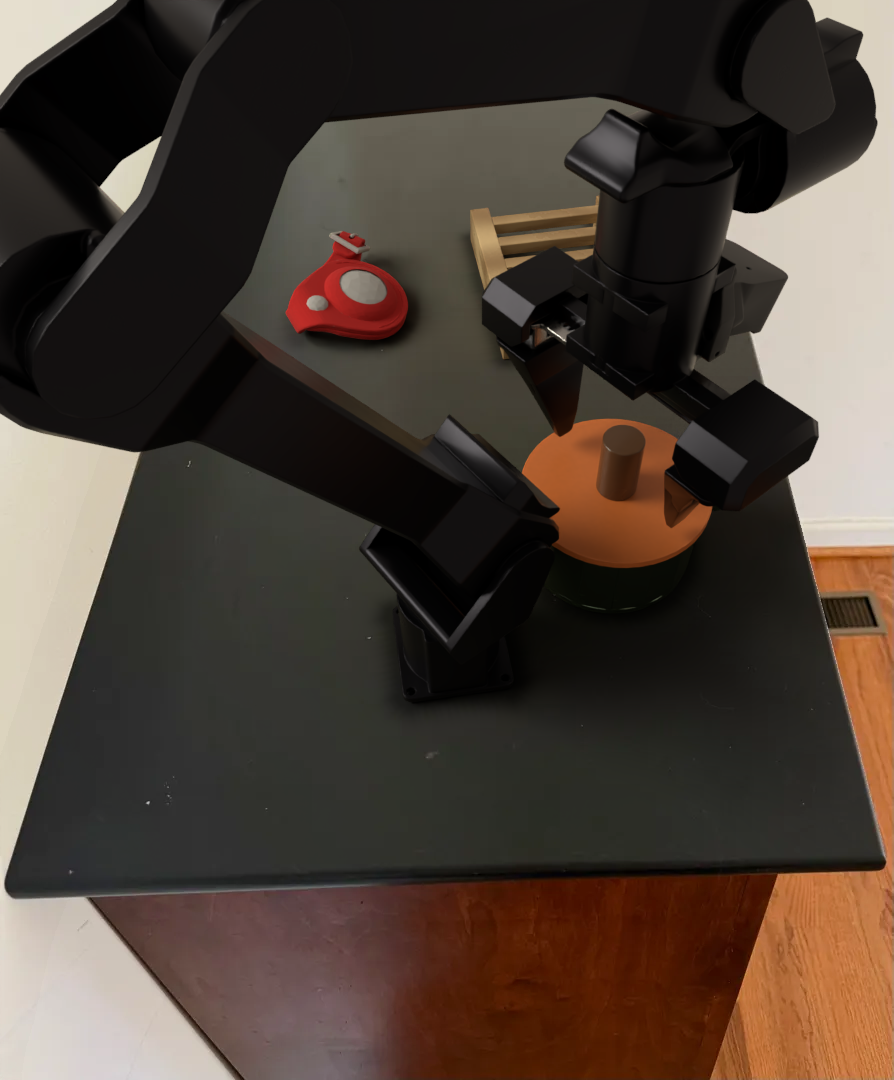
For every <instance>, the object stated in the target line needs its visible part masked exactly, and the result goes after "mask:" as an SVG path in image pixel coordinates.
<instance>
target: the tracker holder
mask: <svg viewBox="0 0 894 1080" xmlns="http://www.w3.org/2000/svg"><path fill="white" fill-rule="evenodd" d="M328 237H329V238H330V239H332V240H333V241H334V242H333V243H332V251H333V252H332V253H331V255H330V256H329V257H328V258H327V260H326V261H325V263H324V264H323V265H322V266H320V267H318V268H317V269H316V270H315V271H312V273H310V275H308V276H307V277H306V278H305V279H303V280H302V281H301V282H300V283H299V284H298V285H297V286H296V288H295V289H294V290H293V293H292V295H291V297H290V300H289V301H288V306H287V309H286V310H285V315H286V317H287V318H288V320H289V322H290V324H291V326H292V327H293V329H294V330H295V332H296V333H297V334H298V335H300V334H303V333H304V332H305V331H308V332H321V333H322V332H323V333H329V334H333V335H336V336H339V337H345V338H350V339H358V340H367V341H368V340H369V341H371V340H372V341H377V340H383V339H388V338H389V337H392V336H393V335H395V334H396V333H398V332H399V330H401V328H402V327H403V325H404V324H405V322H406V318H407V314H408V311H409V301H408V297H407V294H406V292H405V290H404V288H403V286H401V284H400V283H399V282H398V280H397V279H395V278H394V277H393V276H392V275H391V274H390V273H389V272H387V271H385V270H384V269H382V268H380V267H378V266H376V265H374V264H372V263H368V262H365V261H362V255H363V253H366V252H367V253H368V252H369V251H370V250H371V247H370V245H367V244H366V239H365V238H363V237H361V236H359V234H358V233H357V232H353V233H350V232H348V231H345V230H339V231H335V232H333V231H332V232H331V233H329V236H328Z"/></svg>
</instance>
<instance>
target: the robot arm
mask: <svg viewBox="0 0 894 1080" xmlns="http://www.w3.org/2000/svg"><path fill="white" fill-rule="evenodd" d="M863 39H864V33H863V31H862V30H859V29H857V28H854V27H852V26H850V25H847V24H845V23H842V22H839V21H838V20H836V19H832V18H830V17H825V18H823V19H820V20H817V21H816V16H815V11H814V8H813V7H812V6H811V3H810V1H809V0H115V1H114V2H113V4H110V5H109V6H108V7H107V8H105V9H104V10H102V11H100V12H99V13H98V14H96V15H95V16H94V17H92V18H91V19H89V20H88V21H86V22H85V23H84V24H82V25H81V26H79V27H78V28H77V29H75V30H74V31H73V32H71V33H69V34H68V35H66V36H65V37H64V38H62V39H61V40H59V41H58V42H57V43H55V44H54V45H52V46H51V47H49V48H48V49H47V50H46V51H44V52H43V53H41V54H39V55H38V56H36V58H34V59H33V60H31V61H30V62H28V63H27V64H26V65H24V66H23V67H22V68H21V69H19V71H18V72H17V73H16V74H15V75H14V77H12V79H11V80H10V82H9V83H8V84H7V86H6V87H5V88H4V89H3V90H2V92H1V93H0V415H2V416H3V417H4V418H6V419H8V420H10V421H11V422H12V423H14V424H16V425H17V426H19V427H21V428H23V429H26V430H29V431H33V432H36V433H40V434H43V435H47V436H52V437H57V438H63V439H67V440H71V441H76V442H81V443H86V444H91V445H95V446H100V447H105V448H110V449H115V450H119V451H125V452H129V453H143V452H150V451H153V450H157V449H162V448H165V447H170V446H174V445H178V444H183V443H187V442H190V443H195V444H199V445H202V446H204V447H206V448H209V449H210V450H212V451H215V452H217V453H219V454H222V455H223V456H225V457H228V458H229V459H232V460H235V461H236V462H239V463H241V464H243V465H245V466H248V467H250V468H252V469H254V470H256V471H259V472H261V473H263V474H265V475H267V476H269V477H272V478H274V479H276V480H278V481H280V482H283V483H285V484H287V485H288V486H291V487H293V488H295V489H297V490H299V491H302V492H304V493H306V494H308V495H311V496H313V497H315V498H316V499H319V500H322V501H323V502H326V503H328V504H330V505H331V506H334V507H337V508H339V509H341V510H343V511H345V512H347V513H350V514H352V515H354V516H356V517H358V518H360V519H363V520H365V521H366V522H369V523H371V524H373V526H372V527H371V529H370V530H369V531H368V533H367V535H365V537H364V539H363V540H362V542H361V543H360V545H359V548H358V550H359V552H360V553H361V555H362V556H363V557H364V558H365V559H366V560H367V561H368V562H369V564H371V566H372V567H373V568H374V569H375V570H376V571H377V572H378V574H379V575H380V576H381V577H382V578H383V580H384V581H385V582H386V583H387V584H388V585H389V586H390V587H391V588H392V590H393V591H394V592H395V593H396V603H397V606H395V607H393V609H392V622H393V629H394V630H393V631H394V636H395V646H396V652H397V661H398V667H399V668H398V669H399V676H400V683H401V691H402V697H403V699H404V701H405V702H407V703H416V702H423V701H432V700H438V699H444V698H451V697H457V696H465V695H472V694H479V693H485V692H492V691H493V692H494V691H500V690H507V689H510V688H511V687H512V686H513V684H514V673H513V667H512V664H511V659H510V654H509V653H510V652H509V649H508V645H507V640H506V636H507V635H508V634H509V633H511V632H512V631H514V630H515V629H518V627H520V626H522V625H523V624H524V623H526V622H527V621H528V620H529V619H530V618H531V615H532V613H533V610H534V609H535V606H536V604H537V602H538V599H539V597H540V594H541V592H542V590H543V588H544V583H545V581H546V579H547V577H548V574H549V572H550V570H551V567H552V565H553V562H554V557H555V554H554V551H553V550H552V549H551V546H552V544H553V543H555V542H557V541H558V540H559V534H560V533H559V527H558V526H557V524H556V523H555V521H554V520H553V519H552V518H551V517H552V516H554V515H555V514H557V513H558V512H559V510H560V508H559V507H558V506H557V505H556V504H555V503H554V502H553V501H552V500H551V499H550V498H548V497H547V496H546V495H545V494H544V493H543V492H542V491H541V490H540V489H539V488H537V487H536V486H535V485H534V484H533V483H532V482H531V481H530V480H529V479H528V478H527V477H525V476H524V475H523V474H522V471H521V470H519V469H518V468H517V467H516V466H515V465H513V463H512V462H510V461H509V460H508V459H507V458H506V457H505V456H504V455H502V453H500V451H498V450H497V449H496V448H495V447H494V446H493V445H492V444H491V443H489V442H488V440H486V439H485V438H484V437H483V436H482V435H481V434H480V433H471V432H470V431H469V430H468V429H467V428H465V426H464V425H462V424H461V422H459V421H458V420H457V419H456V418H455V417H454V416H453V415H452V414H451V413H449V414H448V415H447V416H446V418H444V421H443V422H442V423H441V425H440V426H439V428H438V429H437V431H436V432H435V433H433V434H432V433H431V434H430V435H428V436H426V437H423V438H422V439H421V438H418V437H416V436H414V435H412V434H411V433H409V432H408V431H406V430H405V429H404V428H401V427H400V426H398V425H397V424H396V423H394V422H393V421H391V420H389V419H388V418H386V417H385V416H384V415H382V414H380V413H379V412H377V411H376V410H375V409H373V408H371V407H370V406H368V405H367V404H365V403H363V401H360V400H359V399H358V398H356V397H355V396H353V395H351V394H350V393H348V392H347V391H345V390H344V389H342V388H341V387H339V386H338V385H336V384H335V383H334V382H332V381H330V380H329V379H327V378H326V377H324V376H323V375H321V374H319V373H318V372H316V371H315V370H314V369H312V368H310V367H309V366H308V365H306V364H304V363H302V362H301V361H300V360H298V359H297V358H295V357H294V356H292V355H290V354H289V353H287V351H284V350H283V349H281V348H280V347H278V346H277V345H275V344H274V343H273V342H271V341H269V340H268V339H266V338H265V337H263V336H262V335H260V334H258V333H257V332H256V331H255V330H253V329H251V328H250V327H248V326H246V325H245V324H243V323H242V322H240V321H239V320H237V319H236V318H234V317H233V316H232V315H229V314H228V313H226V312H225V311H224V310H225V309H226V308H227V306H228V305H229V304H230V303H232V300H233V299H235V297H236V296H237V294H238V293H239V292H240V291H242V289H243V287H245V284H246V283H247V282H248V280H249V278H250V275H251V274H252V272H253V269H254V266H255V263H256V260H257V258H258V255H259V252H260V250H261V246H262V243H263V241H264V238H265V235H266V233H267V229H268V227H269V223H270V221H271V218H272V215H273V212H274V210H275V208H276V207H275V206H276V204H277V202H278V201H277V200H278V198H279V195H280V192H281V190H282V186H283V183H284V182H285V178H286V175H287V173H288V169H289V167H290V165H291V164H292V163H293V161H294V159H296V157H297V156H298V155H299V154H300V153H301V151H303V150H304V148H305V147H306V146H307V144H308V143H309V142H310V141H311V140H312V139H313V137H314V136H315V135H316V134H317V132H318V131H319V130H320V129H321V128H322V126H324V124H326V123H335V122H336V123H337V122H346V121H356V120H357V121H358V120H368V119H377V118H388V117H399V116H400V117H401V116H409V115H419V114H431V113H439V112H440V113H441V112H450V111H451V112H452V111H459V110H460V111H461V110H473V109H483V108H493V107H503V106H504V107H505V106H514V105H524V104H534V103H544V102H545V103H546V102H555V101H566V100H577V99H586V98H587V99H588V98H596V99H602V100H609V101H614V102H617V103H621V104H624V105H627V106H630V107H634V108H637V109H639V110H637V111H635V112H633V113H630V114H628V115H626V114H625V113H622V112H621V111H619V110H617V109H615V108H609V109H607V110H606V111H605V113H604V115H603V116H602V117H601V119H600V121H599V122H598V123H597V124H596V125H595V127H594V128H592V129H591V130H590V131H588V132H587V133H585V134H584V135H582V136H581V137H579V138H578V139H577V140H576V141H575V143H574V144H573V145H572V146H571V148H570V149H569V150H568V151H567V153H566V154H565V157H564V159H563V165H564V167H565V169H566V170H567V171H569V172H571V173H572V174H574V175H576V176H577V177H578V178H580V179H582V180H584V181H586V182H587V183H589V184H590V185H591V186H593V187H595V188H596V189H598V190H599V194H598V196H599V204H598V213H597V222H596V231H595V240H594V245H593V248H592V249H593V255H591V256H589V257H587V258H585V259H583V260H581V261H579V262H578V261H577V260H575V259H574V258H572V257H571V256H569V255H568V254H566V253H565V252H566V251H563V250H562V249H559V248H557V247H556V246H553V247H551V248H549V249H547V250H544V251H541V252H539V253H537V254H536V256H534V255H533V256H534V257H532V258H530V259H528V260H526V261H524V262H522V263H520V264H519V265H517V266H515V267H513V268H511V269H509V270H507V271H505V272H503V273H501V274H499V275H497V276H495V277H494V278H492V279H491V280H490V282H489V284H488V285H487V287H486V288H485V290H484V289H483V292H482V295H481V325H482V326H483V327H484V328H486V329H488V330H489V332H491V333H493V334H494V335H495V341H496V344H497V346H498V347H499V348H500V347H501V348H502V349H503V350H504V351H505V352H506V354H507V355H508V357H509V358H510V359H509V360H510V362H511V363H512V365H513V366H514V368H515V370H516V371H517V372H518V374H519V375H520V377H521V378H522V380H523V382H524V383H525V385H526V387H527V388H528V391H530V394H531V395H532V396H533V399H534V400H535V401H536V403H537V405H538V407H539V408H540V410H541V412H542V414H543V416H544V417H545V419H546V420H547V422H548V424H549V426H550V427H551V429H552V432H553V433H555V434H556V435H557V436H559V437H561V436H563V435H565V434H566V433H568V432H570V431H571V430H572V428H573V424H575V420H576V416H577V412H578V407H579V401H580V400H579V399H580V394H581V388H582V387H581V386H582V379H583V372H584V366H585V367H587V368H588V369H589V370H591V371H592V372H593V373H595V374H596V375H597V376H599V377H600V378H602V379H603V380H605V381H606V382H607V383H608V384H609V385H611V386H612V387H613V388H615V389H616V390H617V391H620V393H621V394H623V395H624V396H625V397H627V398H628V399H630V400H631V401H633V402H634V401H635V400H637V399H638V398H640V397H642V396H643V395H645V394H647V395H649V396H650V397H652V398H653V399H654V400H656V401H657V402H658V403H660V404H661V405H662V406H664V407H665V408H667V409H668V410H669V411H671V412H672V413H673V414H675V415H677V416H678V417H679V418H680V419H682V420H683V421H684V422H686V423H687V424H688V425H687V427H686V428H685V430H684V431H683V432H682V434H681V435H680V436H679V437H678V438H677V439H678V440H677V442H676V443H675V447H674V451H673V456H672V460H673V462H674V465H672V466H671V467H669V468H668V469H666V470H665V472H664V516H665V521H666V525H667V526H669V527H670V528H673V527H674V526H676V525H677V524H678V523H680V522H681V521H683V520H684V519H685V518H686V517H687V516H688V515H689V514H690V513H691V512H692V511H693V510H694V508H695V507H696V506H697V505H698V504H699V503H700V504H701V505H704V506H708V507H711V506H715V505H716V506H717V507H718V508H720V509H721V510H720V511H726V512H739V513H740V512H741V511H742V510H744V509H745V508H746V507H748V506H749V505H750V504H752V503H753V502H755V501H756V500H757V499H759V498H760V497H761V496H763V495H764V494H766V493H768V491H769V490H771V489H772V488H774V487H775V486H776V485H778V484H779V483H781V482H782V481H783V480H785V479H787V478H788V476H790V475H792V474H794V472H795V471H797V470H798V469H800V468H801V467H802V466H804V465H805V464H807V463H808V462H809V461H810V460H811V457H812V455H813V453H814V450H815V448H816V446H817V443H818V440H819V438H820V431H819V430H820V429H819V428H820V427H819V421H818V420H816V418H815V417H812V416H811V415H810V414H808V413H807V412H805V411H803V410H802V409H801V408H800V407H797V406H796V405H794V404H793V403H791V402H790V401H788V400H787V399H786V398H784V397H783V396H782V395H779V394H778V393H777V392H775V391H774V390H772V389H770V388H769V387H767V386H766V385H765V384H763V383H762V382H760V381H758V380H757V379H752V381H750V382H748V383H747V384H745V385H744V386H742V387H741V388H739V389H737V390H736V391H735V392H733V393H729V392H728V391H727V390H725V389H724V388H722V386H720V385H718V384H717V383H715V382H714V381H712V380H711V379H709V378H708V377H707V376H705V375H704V374H702V373H701V372H699V371H698V370H696V369H695V366H696V362H697V361H699V360H700V359H703V360H704V361H706V362H708V363H711V362H712V361H714V360H716V359H717V358H719V357H720V356H722V355H723V354H725V353H726V351H727V347H728V343H729V340H730V337H733V336H738V335H741V334H746V333H751V334H753V335H755V334H758V333H761V331H762V330H763V328H764V327H765V325H766V322H767V320H768V318H769V316H770V314H771V313H772V310H773V308H774V307H775V305H776V302H777V301H778V299H779V297H780V295H781V293H782V291H783V290H784V288H785V284H786V283H787V282H788V279H789V275H788V274H787V272H785V270H783V269H782V268H780V267H778V266H777V265H775V264H773V263H771V262H769V261H767V260H766V259H765V258H763V257H761V256H760V255H757V254H756V253H755V252H753V251H751V250H748V249H747V248H745V247H744V246H742V245H741V244H738V243H737V242H735V241H733V240H731V239H727V235H728V231H729V227H730V222H731V218H732V214H733V211H735V212H739V213H742V214H745V215H746V214H752V215H753V214H757V215H758V214H760V213H764V212H766V211H769V210H770V209H771V210H772V209H773V208H774V207H776V206H778V205H780V204H782V203H784V202H786V201H788V200H789V199H792V198H793V197H795V196H797V195H799V194H801V193H803V192H805V191H806V190H808V189H810V188H812V187H814V186H816V185H818V184H819V183H821V182H824V181H825V180H827V179H829V178H830V177H832V176H834V175H836V174H839V173H840V172H842V171H844V170H845V169H847V168H849V167H850V166H852V165H854V164H855V163H856V162H858V161H859V160H860V159H861V157H863V155H864V154H865V153H866V152H867V150H868V149H869V147H870V145H871V143H872V141H873V140H874V138H875V135H876V131H877V127H878V119H877V116H876V115H877V103H876V96H875V90H874V87H873V84H872V82H871V79H870V76H869V74H868V73H867V71H866V70H865V69H864V67H863V66H862V64H861V63H860V61H859V59H857V58H858V55H859V51H860V48H861V45H862V42H863ZM157 139H159V141H158V143H157V147H156V149H155V152H154V155H153V157H152V160H151V163H150V165H149V168H148V171H147V173H146V176H145V179H144V181H143V184H142V186H141V189H140V192H139V193H138V195H137V196H136V198H135V199H134V200H133V202H132V203H131V204H130V205H129V206H128V208H127V209H126V210H125V211H124V210H123V209H122V208H121V207H120V206H119V205H118V204H117V203H116V202H115V201H114V200H113V199H112V198H111V197H110V196H109V195H108V194H107V193H106V192H105V191H104V190H103V189H102V188H101V187H102V185H103V184H104V183H105V181H106V180H107V179H108V178H109V177H110V176H111V174H112V173H113V172H114V171H115V169H116V168H117V167H118V166H119V164H120V163H121V162H122V161H124V160H125V159H126V158H129V157H130V156H132V155H133V154H135V153H137V152H138V151H140V150H142V149H143V148H144V147H147V146H148V145H149V144H151V143H153V142H154V141H156V140H157ZM503 678H505V679H508V680H506V681H503V680H502V679H503ZM409 692H414V693H413V694H409Z"/></svg>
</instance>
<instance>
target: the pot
mask: <svg viewBox="0 0 894 1080" xmlns="http://www.w3.org/2000/svg"><path fill="white" fill-rule="evenodd" d="M718 511H722V510H721V509H720V508H718V507H717V506H716V505H715V506H712V512H718ZM694 545H695V542H694V543H693V544H692V545H691V546H689V547H688V548H687V549H686V550H684V551H683V552H681V553H680V554H678V555H676V556H674V557H672V558H670V559H668V560H666V561H663V562H660V563H656V564H653V565H648V566H643V567H633V568H613V567H606V566H599V565H595V564H591V563H587V562H584V561H581V560H579V559H576V558H574V557H572V556H569V555H567V554H565V553H563V552H562V551H560V550H559V549H557V548H555V547H554V546H553V545H552V546H551V549H552V550H553V551H554V554H555V557H554V562H553V565H552V567H551V570H550V572H549V574H548V577H547V579H546V581H545V583H544V586H543V588H545V589H546V590H547V591H548V592H550V593H551V594H552V595H553V596H555V597H556V598H558V600H561V601H563V602H565V603H566V604H569V605H570V606H573V607H576V608H578V609H581V610H584V611H589V612H592V613H597V614H615V615H616V614H628V613H632V612H637V611H640V610H643V609H646V608H649V607H651V606H654V605H655V604H657V603H659V602H660V601H662V600H664V598H666V597H668V595H669V594H671V592H673V590H675V588H676V587H677V586H678V585H679V583H680V581H681V579H682V578H683V576H684V574H685V572H686V571H687V568H688V565H689V562H690V559H691V555H692V552H693V549H694Z"/></svg>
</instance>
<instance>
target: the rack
mask: <svg viewBox="0 0 894 1080" xmlns="http://www.w3.org/2000/svg"><path fill="white" fill-rule="evenodd" d="M598 204H599V195H596V196H595V204H594V205H588V206H587V205H586V206H578V207H577V206H576V207H568V208H561V209H552V210H542V211H533V212H524V213H523V212H522V213H516V214H515V213H514V214H507V215H498V216H497V215H496V216H492V214H491V212H490V208H489V207H482V208H474V209H470V211H469V213H470V216H469V217H470V218H469V219H470V220H469V221H470V243H471V246H472V249H473V254H474V257H475V260H476V264H477V265H476V266H477V268H478V272H479V276H480V279H481V282H482V286H483V291H484V290H485V288H486V287H487V285H488V284H489V282H490V280H491V279H492V278H494V277H495V276H497V275H499V274H501V273H503V272H505V271H507V270H509V269H511V268H513V267H515V266H517V265H519V264H520V263H522V262H524V261H526V260H528V259H530V258H532V257H534V256H536V255H537V254H536V255H527V256H526V255H525V256H517V257H508V258H505V257H504V256H508V255H519V254H525V253H533V252H534V253H535V252H544V251H545V250H547V249H549V248H551V247H553V246H556V247H557V248H559V249H560V250H562V249H569V248H570V249H571V248H578V247H579V248H580V247H585V246H594V240H595V231H596V222H597V213H598ZM591 224H592V226H588V227H587V226H586V227H578V228H570V229H569V228H568V229H561V230H552V231H551V230H550V231H544V232H543V231H542V232H533V233H526V234H524V233H523V234H517V235H516V234H515V235H508V236H500V237H498V235H503V234H513V233H520V232H531V231H539V230H549V229H555V228H556V229H557V228H565V227H574V226H582V225H584V226H585V225H591ZM593 249H594V248H586V249H578V250H569V251H564V252H565V253H566V254H568V255H569V256H571V257H572V258H574V259H575V260H577V261H578V262H579V261H581V260H583V259H585V258H587V257H589V256H591V255H593ZM499 349H500V353H501V356H502V357H501V358H502V359H503V360H510V358H509V357H508V355H507V354H506V352H505V351H504V350H503V349H502V348H501V347H499Z"/></svg>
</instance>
